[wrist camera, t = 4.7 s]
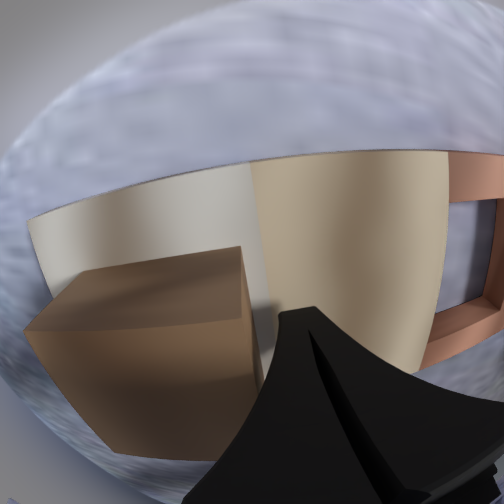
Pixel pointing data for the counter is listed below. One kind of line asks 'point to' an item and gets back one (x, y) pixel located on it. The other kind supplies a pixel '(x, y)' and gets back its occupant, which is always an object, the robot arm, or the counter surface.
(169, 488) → the counter surface
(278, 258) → the board
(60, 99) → the counter surface
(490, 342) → the counter surface
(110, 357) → the walnut block
